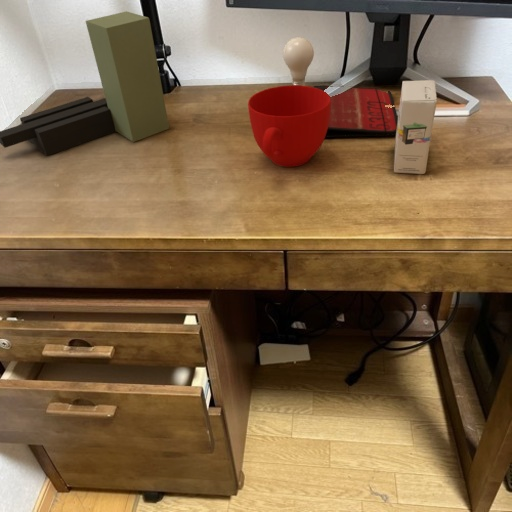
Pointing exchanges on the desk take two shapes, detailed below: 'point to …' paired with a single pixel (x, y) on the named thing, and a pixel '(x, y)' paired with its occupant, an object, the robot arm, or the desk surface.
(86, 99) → the dock pad
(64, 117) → the pad strip
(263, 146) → the ceramic cup
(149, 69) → the stand
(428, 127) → the ink box
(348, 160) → the desk surface
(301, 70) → the lightbulb
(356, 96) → the binder
